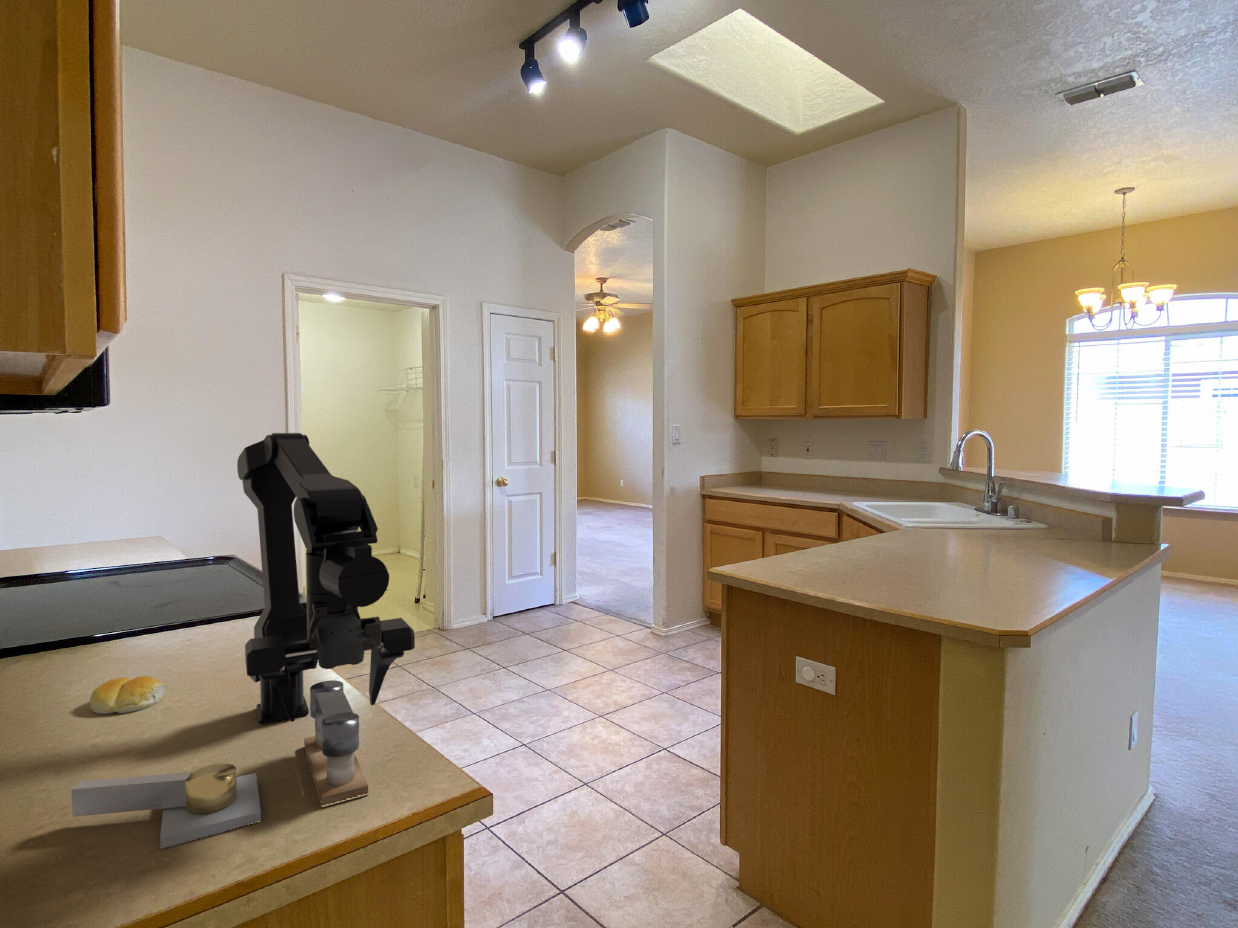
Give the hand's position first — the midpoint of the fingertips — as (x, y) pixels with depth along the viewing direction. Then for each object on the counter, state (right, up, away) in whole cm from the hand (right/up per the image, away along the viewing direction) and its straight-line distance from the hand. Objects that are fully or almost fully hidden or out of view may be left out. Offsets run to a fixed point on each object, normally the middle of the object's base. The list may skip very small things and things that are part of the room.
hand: (333, 711), depth 82 cm
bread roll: (-39, -6, +18) cm, 44 cm away
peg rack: (0, -7, 0) cm, 7 cm away
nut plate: (-10, -8, -9) cm, 15 cm away
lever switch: (-15, -6, -10) cm, 19 cm away
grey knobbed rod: (0, -2, 0) cm, 2 cm away
